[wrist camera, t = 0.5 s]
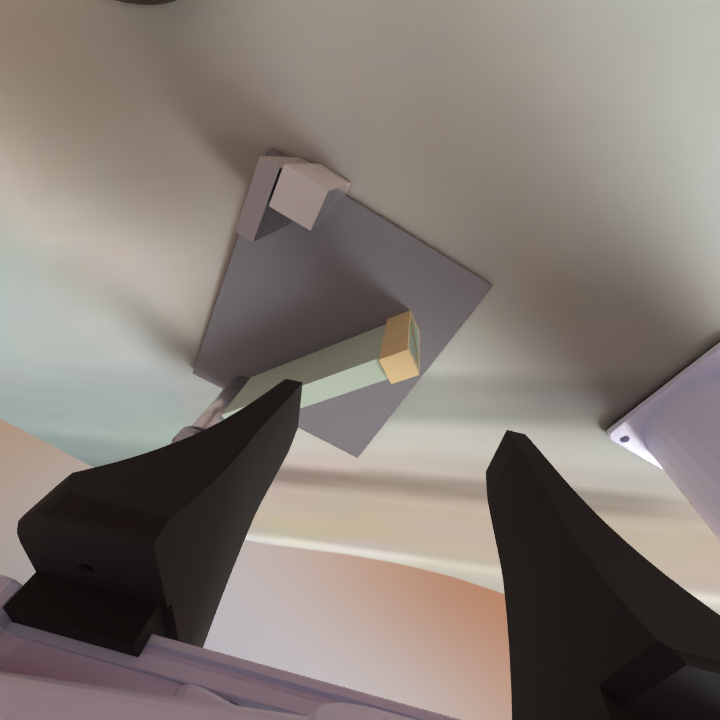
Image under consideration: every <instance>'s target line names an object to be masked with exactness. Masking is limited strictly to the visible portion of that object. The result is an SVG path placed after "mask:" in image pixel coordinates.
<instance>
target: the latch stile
mask: <svg viewBox="0 0 720 720" xmlns="http://www.w3.org/2000/svg"><path fill="white" fill-rule="evenodd" d="M351 184H352V183H351V182H349V181H347V180H346V179H344V178H342V177H341V176H339V175H338V174H336V173H334V172H333V171H331V170H330V169H328V168H326V167H325V166H323V165H321V164H320V163H315V164H312V163H310V162H308V161H307V160H305V159H303V158H302V157H275V156H260V157H259V160H258V163H257V166H256V169H255V172H254V175H253V178H252V181H251V184H250V187H249V190H248V193H247V196H246V199H245V202H244V205H243V208H242V212H241V215H240V218H239V221H238V224H237V227H236V230H235V232H236V233H238V234H239V235H241V236H243V237H245V238H246V239H248V240H250V241H252V242H254V241H257V240H259V239H261V238H263V237H265V236H267V235H269V234H271V233H273V232H275V231H277V230H279V229H281V228H284V227H286V226H288V225H290V224H291V222H292V220H293V221H295V222H297V223H298V224H300V225H302V226H303V227H305V228H307V229H308V230H310V231H311V230H313V229H314V228H316V227H317V226H319V225H321V224H322V223H324V222H325V221H327V220H329V219H330V218H332V217H333V216H335V215H336V214H337V212H338V210H339V207H340V205H341V203H342V201H343V199H344V197H345V196H346V195H347V193H348V191H349V189H350V187H351Z"/></svg>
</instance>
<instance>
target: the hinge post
mask: <svg viewBox="0 0 720 720" xmlns="http://www.w3.org/2000/svg"><path fill="white" fill-rule="evenodd" d="M248 380H249V378H247V377H245V376H236V377H234V378H233V379H232V380H231V381H230V382H229V384H228V385H227V386H226V387H225V388H224V389H223V390H222V392H221V393H220V394H219V395H218V396H217V397H216V399H215V400H214V401H213V402H212V403H211V404H210V406H209V407H208V408H207V409H206V410H205V411H204V412H203V414H202V415H201V416H200V417H199V418H198V419H197V421H196V422H195V423H194V424H193V425H192V426H187V427H184V428H183V429H181V430H180V431H179V433H178V434H177V435H176V436H175V437H174V438H173V440H172V443H175V442H177V441H180V440H182V439H185V438H187V437H190V436H192V435H194V434H197V433H199V432H201V431H203V430H205V429H207V428H209V427H211V426H213V425H215V424H217V423H219V422H220V421H222V420H224V418H223V416H222V414H223V412H224V411H225V410H226V408H227V407H228V406H229V405H230V403H231V402H232V401H233V400H234V398H235V397H236V396H237V394H238V393H239V392H240V391H241V389H242V388H243V387H244V386H245V384H246V383H247V382H248Z"/></svg>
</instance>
